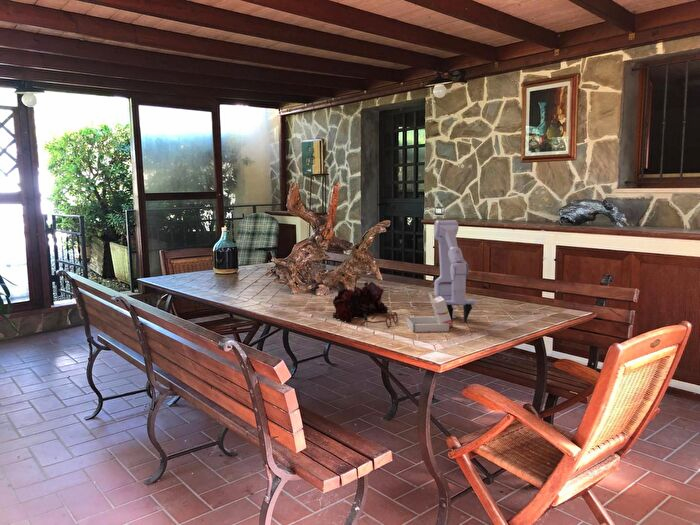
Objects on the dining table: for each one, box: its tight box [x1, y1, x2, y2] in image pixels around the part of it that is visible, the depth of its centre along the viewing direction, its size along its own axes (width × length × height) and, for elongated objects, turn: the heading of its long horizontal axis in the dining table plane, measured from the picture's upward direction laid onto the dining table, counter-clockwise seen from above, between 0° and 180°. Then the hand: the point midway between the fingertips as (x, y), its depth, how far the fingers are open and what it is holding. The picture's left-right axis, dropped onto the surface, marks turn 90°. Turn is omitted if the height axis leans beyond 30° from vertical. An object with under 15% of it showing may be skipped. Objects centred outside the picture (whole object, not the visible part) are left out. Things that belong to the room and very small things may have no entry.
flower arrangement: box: [332, 281, 388, 323], centre depth 254 cm, size 31×20×15 cm, turn 142°
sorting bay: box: [406, 315, 450, 333], centre depth 230 cm, size 14×15×3 cm
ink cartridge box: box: [428, 292, 454, 328], centre depth 230 cm, size 9×5×15 cm, turn 4°
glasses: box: [359, 311, 399, 328], centre depth 238 cm, size 13×13×5 cm
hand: (458, 322), depth 231 cm, fingers open, 5 cm apart
